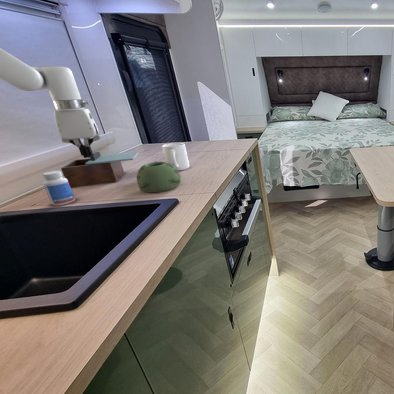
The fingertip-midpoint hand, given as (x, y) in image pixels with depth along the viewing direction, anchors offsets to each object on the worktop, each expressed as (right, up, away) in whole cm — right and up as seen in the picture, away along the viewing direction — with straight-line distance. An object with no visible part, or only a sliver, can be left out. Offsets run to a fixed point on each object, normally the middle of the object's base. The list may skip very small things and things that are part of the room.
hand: (88, 156), depth 107 cm
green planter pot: (+30, -11, -4) cm, 32 cm away
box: (+1, -8, +4) cm, 9 cm away
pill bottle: (+8, -17, -17) cm, 25 cm away
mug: (+25, -4, +15) cm, 29 cm away
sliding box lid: (+7, 0, +4) cm, 8 cm away
